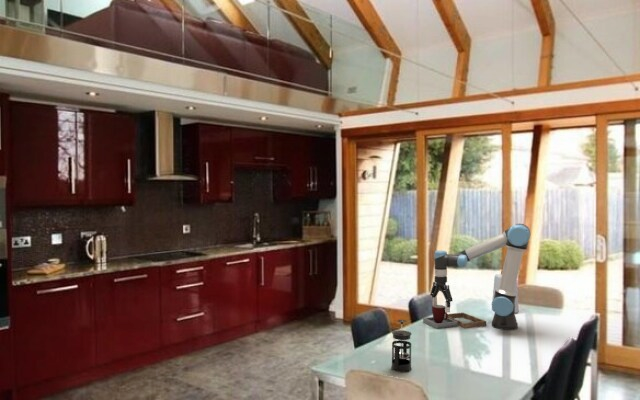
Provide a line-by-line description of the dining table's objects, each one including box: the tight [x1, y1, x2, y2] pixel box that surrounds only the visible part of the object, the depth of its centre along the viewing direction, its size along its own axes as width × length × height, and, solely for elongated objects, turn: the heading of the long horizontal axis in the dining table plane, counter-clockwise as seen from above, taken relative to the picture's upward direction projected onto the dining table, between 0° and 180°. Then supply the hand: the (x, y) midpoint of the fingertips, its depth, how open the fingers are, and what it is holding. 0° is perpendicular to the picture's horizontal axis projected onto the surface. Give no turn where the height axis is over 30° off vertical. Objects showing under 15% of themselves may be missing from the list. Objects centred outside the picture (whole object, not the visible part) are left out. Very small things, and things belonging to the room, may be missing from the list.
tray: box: [422, 316, 459, 330], centre depth 311 cm, size 15×15×3 cm
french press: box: [390, 318, 413, 373], centre depth 235 cm, size 12×9×23 cm
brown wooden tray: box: [445, 312, 487, 330], centre depth 317 cm, size 23×16×3 cm
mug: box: [431, 304, 449, 323], centre depth 311 cm, size 11×8×10 cm
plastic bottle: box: [491, 270, 520, 315], centre depth 346 cm, size 15×15×28 cm
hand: (441, 310), depth 311 cm, fingers open, 13 cm apart
